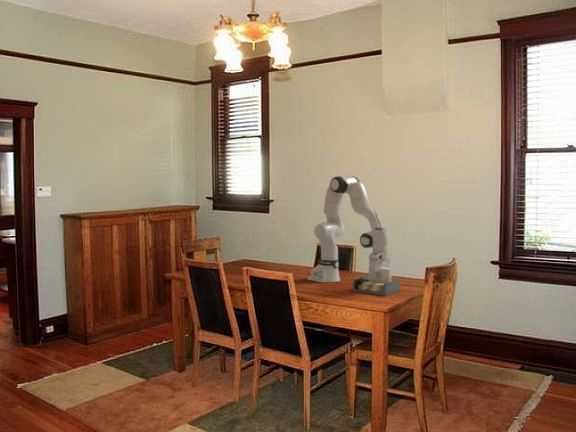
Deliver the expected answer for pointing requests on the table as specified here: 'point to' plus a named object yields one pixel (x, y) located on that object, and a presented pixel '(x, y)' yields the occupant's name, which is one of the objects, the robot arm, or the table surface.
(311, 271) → the robot arm
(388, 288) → the rack
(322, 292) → the table surface
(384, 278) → the cream slab
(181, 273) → the table surface
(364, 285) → the offcut stack
